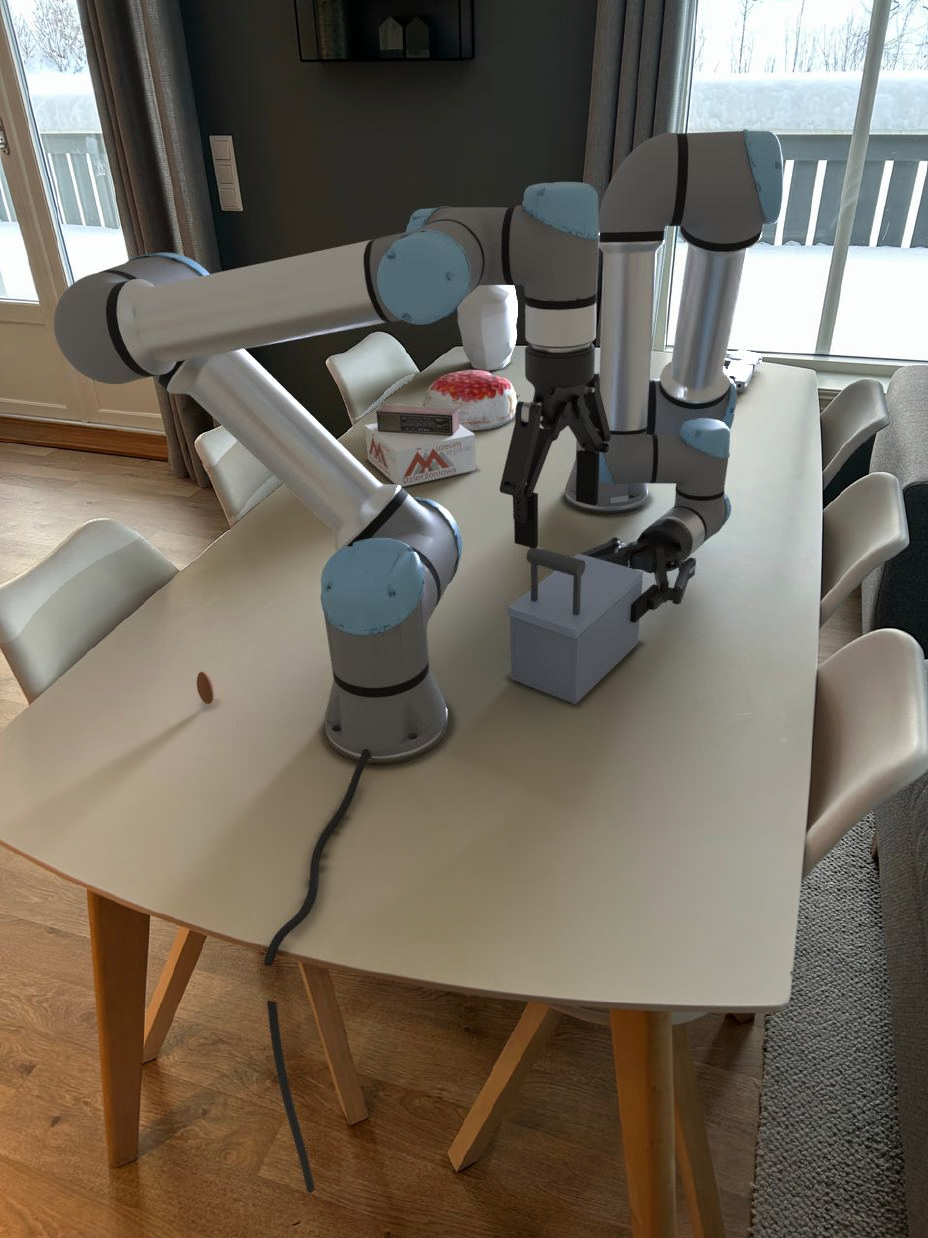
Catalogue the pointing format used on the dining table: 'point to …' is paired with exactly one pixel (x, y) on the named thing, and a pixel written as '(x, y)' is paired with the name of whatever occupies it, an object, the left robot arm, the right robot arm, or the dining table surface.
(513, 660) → the chest
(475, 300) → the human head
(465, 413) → the cake
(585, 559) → the lid
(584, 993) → the dining table surface
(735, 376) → the pistol
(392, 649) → the left robot arm
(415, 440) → the white cardboard box
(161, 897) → the dining table surface
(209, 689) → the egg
